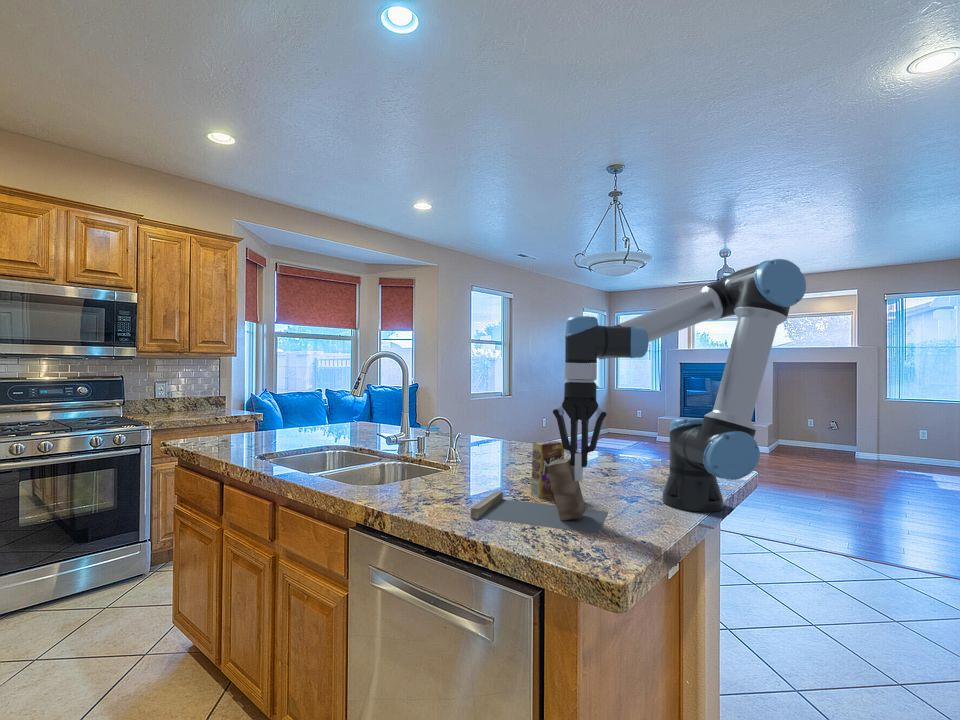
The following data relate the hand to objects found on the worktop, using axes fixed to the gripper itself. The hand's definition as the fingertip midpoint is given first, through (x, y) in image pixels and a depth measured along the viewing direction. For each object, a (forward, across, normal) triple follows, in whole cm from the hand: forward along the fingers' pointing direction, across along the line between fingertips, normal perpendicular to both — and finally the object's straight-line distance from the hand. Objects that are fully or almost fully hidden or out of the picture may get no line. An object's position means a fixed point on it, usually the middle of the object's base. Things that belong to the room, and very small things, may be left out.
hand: (578, 480), depth 117 cm
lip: (+10, +23, 0) cm, 25 cm away
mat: (+10, +8, 0) cm, 13 cm away
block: (+9, +1, 0) cm, 9 cm away
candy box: (+10, +12, -19) cm, 25 cm away
